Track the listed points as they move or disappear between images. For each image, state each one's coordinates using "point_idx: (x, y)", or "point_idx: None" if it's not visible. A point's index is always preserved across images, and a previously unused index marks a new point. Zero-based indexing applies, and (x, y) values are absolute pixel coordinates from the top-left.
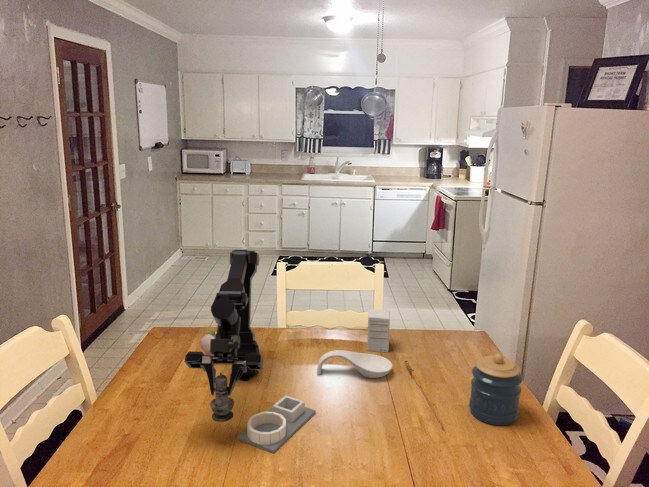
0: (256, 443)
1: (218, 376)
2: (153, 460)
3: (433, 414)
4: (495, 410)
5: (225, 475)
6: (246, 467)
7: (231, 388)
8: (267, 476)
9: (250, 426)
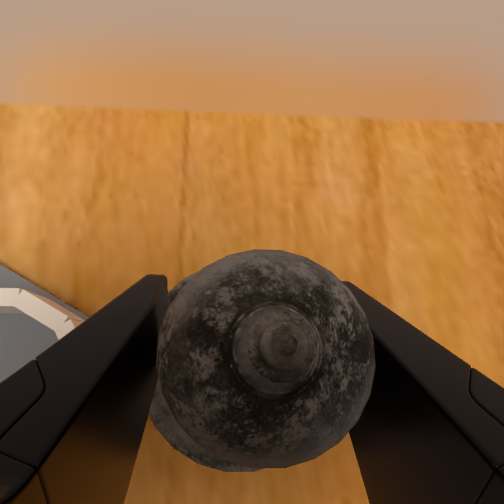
0: (65, 307)
1: (324, 336)
2: (475, 222)
3: None
4: None
5: (187, 138)
6: (110, 177)
7: (109, 303)
8: (26, 128)
9: None
